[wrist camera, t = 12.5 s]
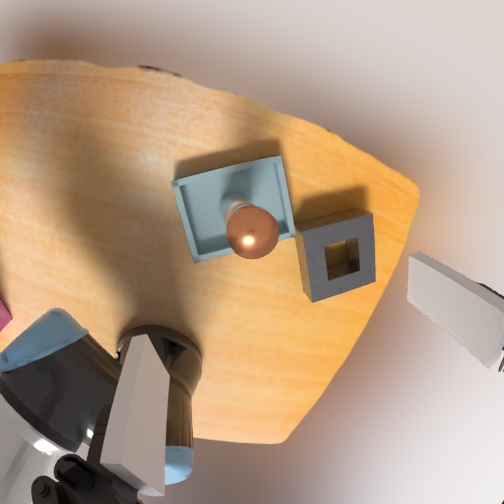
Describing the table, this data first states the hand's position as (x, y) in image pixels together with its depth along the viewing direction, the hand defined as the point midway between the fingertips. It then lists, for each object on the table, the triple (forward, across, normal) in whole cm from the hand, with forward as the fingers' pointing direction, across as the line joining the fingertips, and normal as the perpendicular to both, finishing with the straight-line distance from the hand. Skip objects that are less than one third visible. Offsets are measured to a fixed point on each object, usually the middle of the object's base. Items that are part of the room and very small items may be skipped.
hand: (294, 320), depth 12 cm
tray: (+27, 0, +1) cm, 27 cm away
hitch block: (+27, +13, -10) cm, 31 cm away
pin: (+26, 0, +1) cm, 26 cm away
